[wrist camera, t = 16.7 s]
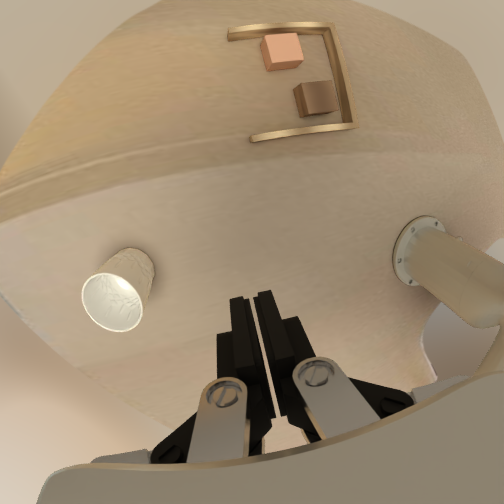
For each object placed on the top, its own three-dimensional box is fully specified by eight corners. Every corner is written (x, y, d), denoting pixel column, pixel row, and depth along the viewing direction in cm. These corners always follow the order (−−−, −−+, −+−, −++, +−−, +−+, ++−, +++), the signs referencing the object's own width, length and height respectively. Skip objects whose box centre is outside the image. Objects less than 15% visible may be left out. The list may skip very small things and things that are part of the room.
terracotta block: (288, 43, 29) (296, 32, 26) (295, 68, 31) (304, 59, 27) (260, 46, 29) (264, 35, 26) (266, 71, 31) (272, 62, 27)
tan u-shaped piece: (326, 30, 29) (333, 22, 26) (349, 129, 34) (359, 128, 32) (227, 36, 28) (228, 28, 25) (250, 142, 34) (252, 141, 31)
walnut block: (320, 86, 32) (331, 80, 28) (327, 113, 33) (338, 110, 30) (292, 89, 32) (301, 83, 28) (299, 117, 33) (308, 113, 30)
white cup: (160, 247, 37) (143, 279, 28) (157, 297, 40) (142, 337, 31) (108, 239, 36) (79, 267, 27) (109, 288, 39) (84, 325, 29)
